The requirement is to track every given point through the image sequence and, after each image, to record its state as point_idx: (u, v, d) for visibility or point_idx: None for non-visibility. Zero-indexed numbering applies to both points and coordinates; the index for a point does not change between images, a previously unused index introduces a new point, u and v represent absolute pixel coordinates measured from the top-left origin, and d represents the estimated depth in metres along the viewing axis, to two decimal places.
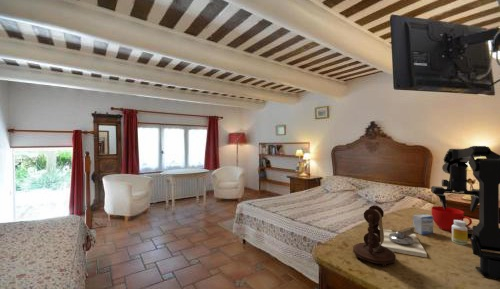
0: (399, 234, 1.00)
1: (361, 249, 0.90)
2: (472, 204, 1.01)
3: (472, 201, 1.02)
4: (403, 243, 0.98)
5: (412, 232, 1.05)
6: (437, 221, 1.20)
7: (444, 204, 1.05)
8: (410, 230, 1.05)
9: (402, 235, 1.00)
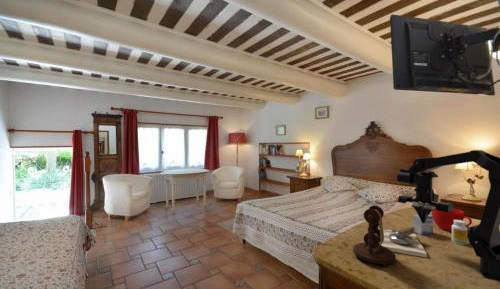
0: (399, 234, 1.00)
1: (361, 249, 0.90)
2: None
3: None
4: (403, 243, 0.98)
5: (412, 232, 1.05)
6: (437, 221, 1.20)
7: (420, 216, 0.99)
8: (410, 230, 1.05)
9: (402, 235, 1.00)
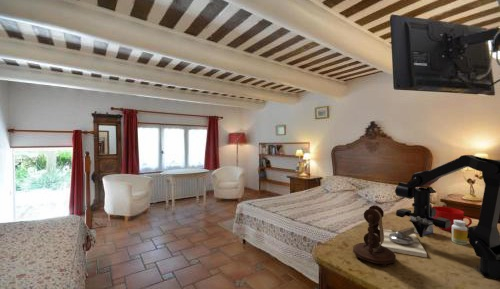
0: (399, 234, 1.00)
1: (361, 249, 0.90)
2: None
3: None
4: (403, 243, 0.98)
5: (412, 232, 1.05)
6: None
7: (417, 231, 1.00)
8: (410, 230, 1.05)
9: (402, 235, 1.00)
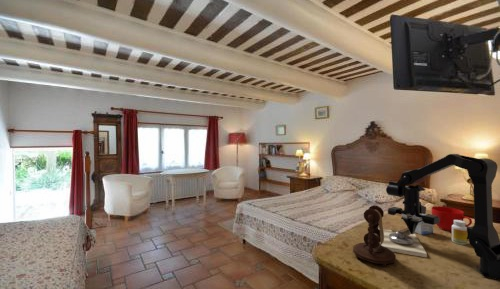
0: (399, 234, 1.00)
1: (361, 249, 0.90)
2: None
3: None
4: (403, 243, 0.98)
5: None
6: None
7: (409, 228, 1.03)
8: None
9: (402, 235, 1.00)
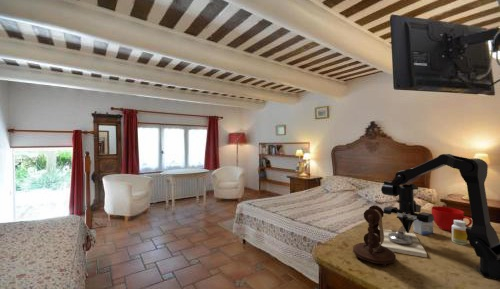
0: (400, 234, 1.00)
1: (361, 249, 0.90)
2: None
3: None
4: (406, 243, 0.98)
5: (405, 230, 1.08)
6: (437, 221, 1.20)
7: (405, 227, 1.05)
8: None
9: (403, 235, 1.00)
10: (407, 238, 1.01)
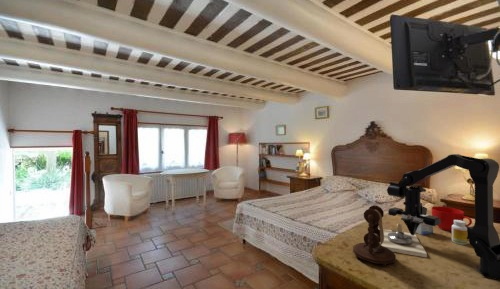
0: (401, 234, 1.00)
1: (361, 249, 0.90)
2: None
3: None
4: (407, 243, 0.98)
5: None
6: None
7: (409, 229, 1.03)
8: (401, 228, 1.07)
9: (403, 235, 1.00)
10: (406, 237, 1.01)
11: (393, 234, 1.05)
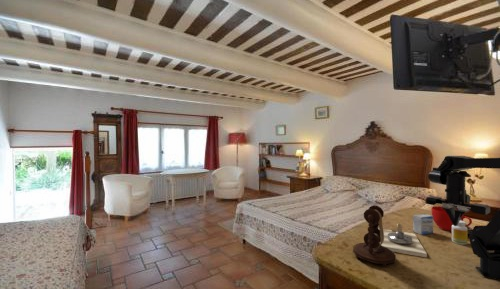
0: (401, 234, 1.00)
1: (361, 249, 0.90)
2: None
3: None
4: (407, 243, 0.98)
5: None
6: (437, 221, 1.20)
7: (451, 219, 0.92)
8: (401, 228, 1.07)
9: (403, 235, 1.00)
10: (406, 237, 1.01)
11: (393, 234, 1.05)
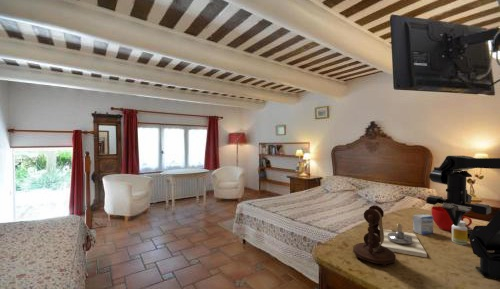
0: (401, 234, 1.00)
1: (361, 249, 0.90)
2: None
3: None
4: (407, 243, 0.98)
5: None
6: (437, 221, 1.20)
7: (452, 219, 0.92)
8: (401, 228, 1.07)
9: (403, 235, 1.00)
10: (406, 237, 1.01)
11: (393, 234, 1.05)
